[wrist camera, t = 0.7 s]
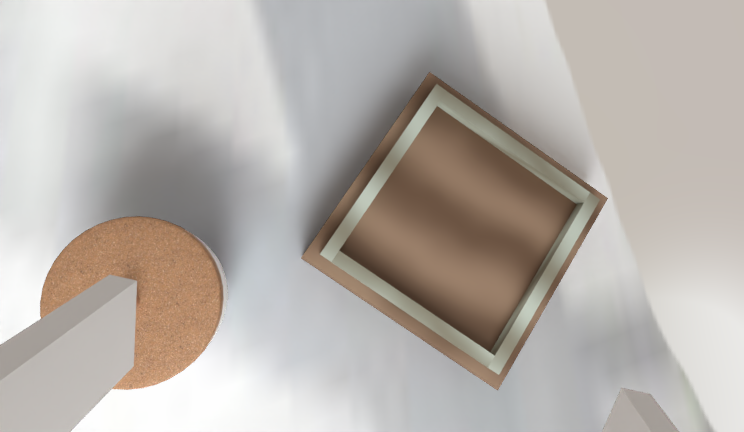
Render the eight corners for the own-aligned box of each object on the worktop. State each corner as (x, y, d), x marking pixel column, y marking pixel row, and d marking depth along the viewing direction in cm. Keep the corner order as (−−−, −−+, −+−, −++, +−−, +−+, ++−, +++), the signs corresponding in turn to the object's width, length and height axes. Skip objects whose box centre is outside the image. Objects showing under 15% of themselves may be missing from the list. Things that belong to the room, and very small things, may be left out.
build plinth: (478, 377, 38) (503, 394, 33) (302, 258, 37) (300, 257, 32) (579, 204, 41) (615, 196, 36) (418, 90, 40) (432, 66, 35)
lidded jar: (92, 236, 35) (13, 226, 26) (231, 217, 37) (204, 202, 27) (105, 374, 34) (28, 415, 25) (248, 349, 36) (225, 379, 26)
